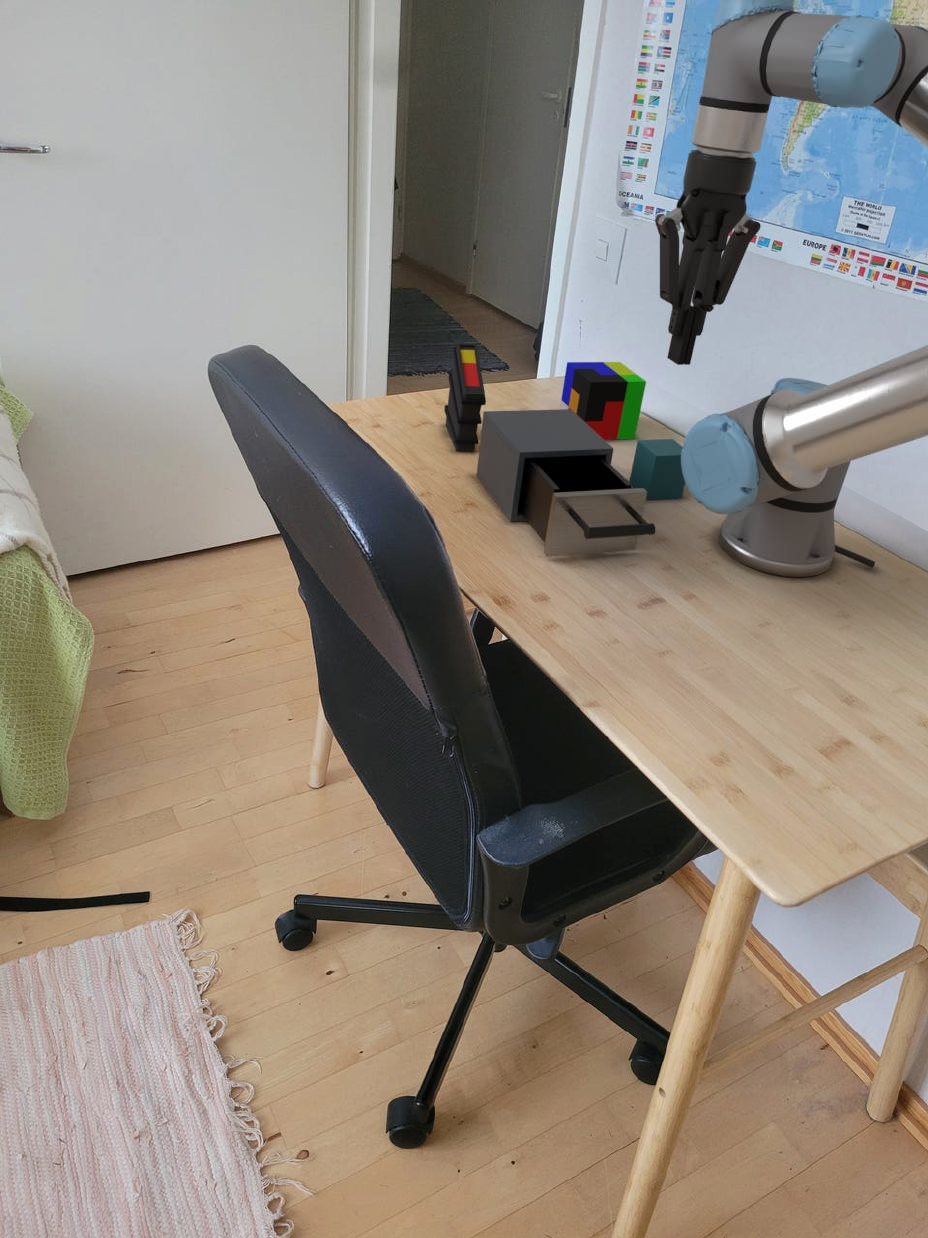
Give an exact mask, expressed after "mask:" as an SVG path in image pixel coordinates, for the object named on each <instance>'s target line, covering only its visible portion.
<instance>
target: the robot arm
mask: <svg viewBox="0 0 928 1238" xmlns="http://www.w3.org/2000/svg"><path fill="white" fill-rule="evenodd" d="M794 5H795V0H719V5H718V9H717V13H716V17H715V20H714V24H713V26H712V28H711V31H710V43H709V49H708V55H707V60H706V66H705V67H706V68H705V73H704V80H703V84H702V91H701V95H700V97H699V101H698V107H697V113H696V117H695V122H694V126H693V132H692V137H691V143H692V145H693V146H695V149H692V150H690V152H689V153H688V154H687V161H686V166H685V170H684V175H683V191H682V194H681V195H680V197H679V199H678V200H677V202H676V205H675V208H674V209H673V210H671V211H669V212H668V213H666V214H661V213H660V214H657V215H656V216H655V219H654V223H655V226H656V229H657V232H658V235H659V298H660V299H662V300H663V301H665V302H666V303H669V304H671V313H670V317H669V323H668V327H667V331H668V334H670V335H671V338H670V343H669V347H668V353H667V357H666V358H667V359H668V360H670V361H671V362H673V363H674V364H675V365H677V366H680V365H681V366H687V365H688V366H690V365H691V362H692V358H693V353H694V350H695V349H694V348H695V344H696V339H697V337H699V336H702V333H703V332H704V327H705V322H706V318H707V313H710V312H712V311H713V310H714V308H715V306H716V305H718V306H721V305H723V304H724V302H725V301H726V298H727V297H728V294H729V291H730V289H731V287H732V285H733V282H734V280H735V277H736V275H737V273H738V270H739V268H740V266H741V264H742V261H743V259H744V257H745V254H746V252H747V249H748V248H749V245H750V243H751V242H752V241H753V240H754V238H755V236H756V235H757V234H758V233H759V231H760V230H761V227H762V226H761V223H760V222H759V221H757V220H755V219H754V220H753V219H752V217H750V216H749V215H748V213H747V210H748V209H747V208H748V206H747V194H748V193H750V191H751V189H752V184H753V179H754V175H755V172H756V168H757V167H756V166H757V161H756V158H755V157H754V154H757V153H759V152H760V151H761V148H762V143H763V138H764V134H765V129H766V125H767V120H768V117H769V115H768V114H769V111H770V106H771V102H772V100H773V97H775V98H787V99H792V100H797V101H804V102H809V103H816V104H821V105H822V104H823V105H827V106H829V107H831V108H835V109H836V108H843V109H849V108H855V109H863V108H867V107H873V108H874V109H876V110H878V111H879V112H880V113H881V114H883V116H885V117H887V118H888V119H890V120H891V121H892V122H893V123H894V124H896V125H897V126H898V127H900V128H902V129H903V130H905V131H906V132H907V133H908V134H910V135H911V136H912V137H914V138H915V139H916V140H918V141H919V142H920V143H921V144H923V146H925V147H927V148H928V29H927V28H925V27H923V26H920V25H912V24H907V25H904V24H897V23H892V22H889V21H887V20H884V19H877V18H874V17H871V16H863V15H861V14H860V15H859V14H858V15H855V14H854V15H841V14H840V15H836V14H822V13H821V14H818V13H801V12H799V11H796V10H795V8H794V7H795V6H794ZM794 10H795V11H794ZM681 226H682V227H681ZM681 228H683V231H684V232H683V236H682V239H681V244H682V251H681V254H680V234H679V232H680V231H681ZM730 233H731V234H730ZM729 235H730V236H729ZM925 437H928V344H926V345H924V346H921V347H919V348H917V349H914V350H911V351H909V352H906V353H904V354H902V355H899V356H897V357H893V358H891V359H890V360H887V361H885V362H882V363H880V364H877V365H875V366H872V367H869V368H867V369H865V370H862V371H859V372H857V373H856V374H852V375H850V376H848V377H845V378H843V379H841V380H838V381H836V382H833V383H830V384H825V383H821V382H817V381H813V380H809V379H803V378H797V377H796V378H795V377H783V378H780V379H778V380H777V381H776V382H775V384H774V386H773V388H772V389H771V390H770V394H768V395H766V396H764V397H762V398H759V399H756V400H754V401H752V402H749V403H747V404H744V405H742V406H740V407H737V408H734V409H732V410H729V411H726V412H723V413H712V414H709V415H707V416H706V417H705V418H703V419H701V420H699V421H697V422H696V423H695V424H694V425H693V426H692V427H691V428H690V429H689V430H688V432H687V433H686V436H685V437H684V440H683V446H682V447H683V449H682V452H681V468H682V473H683V477H684V480H685V486H686V487H687V490H688V491H689V493H690V494H691V496H692V497H693V498H694V499H695V501H697V502H698V503H699V504H701V505H702V506H703V507H704V508H705V509H706V510H707V511H709V512H712V513H714V514H719V515H726V517H725V518H724V520H723V521H722V522H721V526H720V529H719V534H718V544H719V545H720V547H721V549H722V550H723V551H724V552H725V553H726V554H728V555H729V556H730V557H731V558H733V559H734V560H736V561H738V562H739V563H741V564H743V565H745V566H747V567H749V568H752V569H755V570H758V571H761V572H764V573H767V574H771V575H775V576H780V577H781V576H783V577H791V578H807V577H813V576H817V575H820V574H823V573H825V572H827V571H828V570H829V569H830V568H831V564H832V562H833V559H834V556H835V553H836V554H838V555H841V556H844V557H846V558H848V559H851V560H853V561H856V562H858V563H861V564H863V565H865V566H868V567H870V568H874V566H875V565H876V561H875V560H873V559H870V558H868V557H865V556H863V555H861V554H859V553H856V552H854V551H851V550H848V549H847V548H844V547H841V546H839V545H837V544H836V543H835V541H836V540H835V539H836V538H835V509H836V505H837V502H838V499H839V496H840V493H841V490H842V487H843V485H844V482H845V479H846V476H847V473H848V471H849V468H850V465H851V462H852V461H855V460H858V459H861V458H864V457H867V456H871V455H873V454H876V453H879V452H882V451H886V450H889V449H891V448H894V447H898V446H902V445H904V444H907V443H910V442H912V441H915V440H919V439H921V438H925Z"/></svg>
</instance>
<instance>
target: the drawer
mask: <svg viewBox="0 0 928 1238" xmlns="http://www.w3.org/2000/svg"><path fill="white" fill-rule="evenodd" d="M646 496H647V491H646V490H645V489H644V488H634V487H633V486H632V485H631V484H630V483H629V480H628V479H626V477H624V476H623V474H621V473H620V472H619V471H618V470H617V469H616V468H615V467H614V466H613V465H612V464H611V465H610V464H609V463H608V462H607V461H606V460H605V459H604V458H603V457H602V456H601V455H590V456H565V457H541V458H525V462H524V469H523V476H522V484H521V491H520V498H519V505H518V510H519V511H520V512H521V513H522V515H523V516H524V517H525V518H526V520H527V521H526V522H528V524H529V525H530V526H531V527H532V529H533V530H534V531H535V532H536V534H537V535H538V536H539V538H540V539H541V540H542V541H543V543H544V546H543V554H545V556H546V557H556V556H557V557H559V556H569V555H570V556H571V555H583V554H597V553H609V552H625V551H634V550H636V546H637V541H638V536H639V537H641V536H653V535H655V533H656V529H657V528H656V525H655V524H654V522H649V523H648V521H646V520H645V519H644V517H643V514H644V510H645V504H646V500H647V499H646Z"/></svg>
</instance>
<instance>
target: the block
mask: <svg viewBox="0 0 928 1238" xmlns="http://www.w3.org/2000/svg"><path fill="white" fill-rule="evenodd" d="M636 443H637V444H636V447H635V452H634V457H633V462H632V466H631V470H630V477H629V480H628V482H629V483H630V484H631V485H632V488H633V489H634V488H644V489H645V490H646V491H647V496H646V500H649V501H650V500H664V499H665V500H666V499H680V498H681V499H682V498H683V494H684V490H685V486H686V483H685V480H684V477H683V473H682V468H681V452H682V449H683V447H684V446H682V445H681V444H680V443H679V442H678V441H676V439H674V438H659V439H658V438H657V439H638V440H637V442H636Z"/></svg>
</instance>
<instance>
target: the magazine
mask: <svg viewBox="0 0 928 1238" xmlns="http://www.w3.org/2000/svg"><path fill="white" fill-rule="evenodd" d="M452 348H453V349H452V353H453V363H452V372H449V373H448V377H447V378H448V383H449V391H448V399H447V404H445V405H444V411H443V412H444V414H445V417H446V418H445V427H446V430H447V433H448V435H449V438H450V439H451V442H452V444H453V447H454V449H455V451H456V452H465V453H467V452H468V453H473V452H475V451H476V445H479V443H480V442H479V441H480V440H479V437H478V426H479V425H482V422H483V420H482V417H481V409H482V406H486V404H487V399H486V391H485V386H484V380H483V374H482V367H481V362H480V355H479V350H478V345H477V344H476V343H467V342H458V343H457V345H456V346H454V347H452Z"/></svg>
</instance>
